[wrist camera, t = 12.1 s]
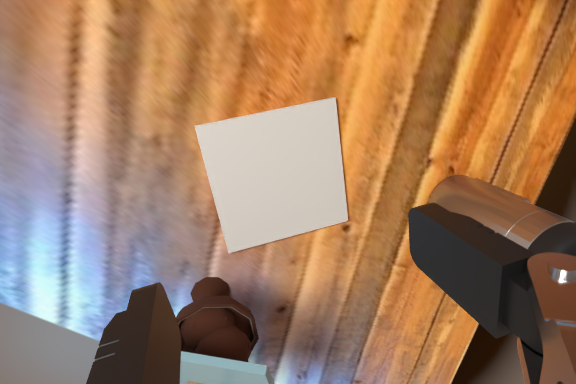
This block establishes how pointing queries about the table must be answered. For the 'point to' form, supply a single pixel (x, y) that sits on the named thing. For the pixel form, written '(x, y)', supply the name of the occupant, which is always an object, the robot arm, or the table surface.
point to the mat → (275, 172)
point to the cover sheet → (221, 371)
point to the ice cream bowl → (216, 323)
